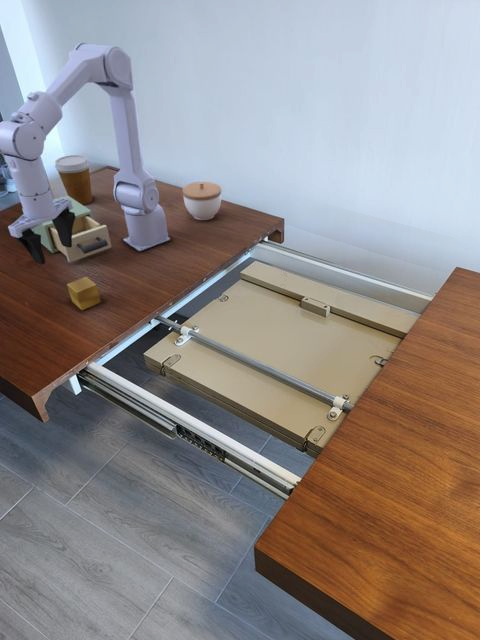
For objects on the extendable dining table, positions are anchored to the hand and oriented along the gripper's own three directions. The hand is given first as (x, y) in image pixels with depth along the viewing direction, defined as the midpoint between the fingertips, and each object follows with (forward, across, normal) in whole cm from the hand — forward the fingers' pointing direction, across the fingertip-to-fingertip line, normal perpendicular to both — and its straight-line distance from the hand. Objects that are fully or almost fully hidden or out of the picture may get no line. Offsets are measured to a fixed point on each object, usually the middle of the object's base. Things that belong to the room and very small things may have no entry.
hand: (54, 254), depth 98 cm
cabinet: (+10, -20, -20) cm, 30 cm away
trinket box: (+10, -47, +7) cm, 49 cm away
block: (+10, +1, +6) cm, 12 cm away
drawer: (+9, -16, -9) cm, 21 cm away
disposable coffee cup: (+10, -40, -31) cm, 52 cm away
